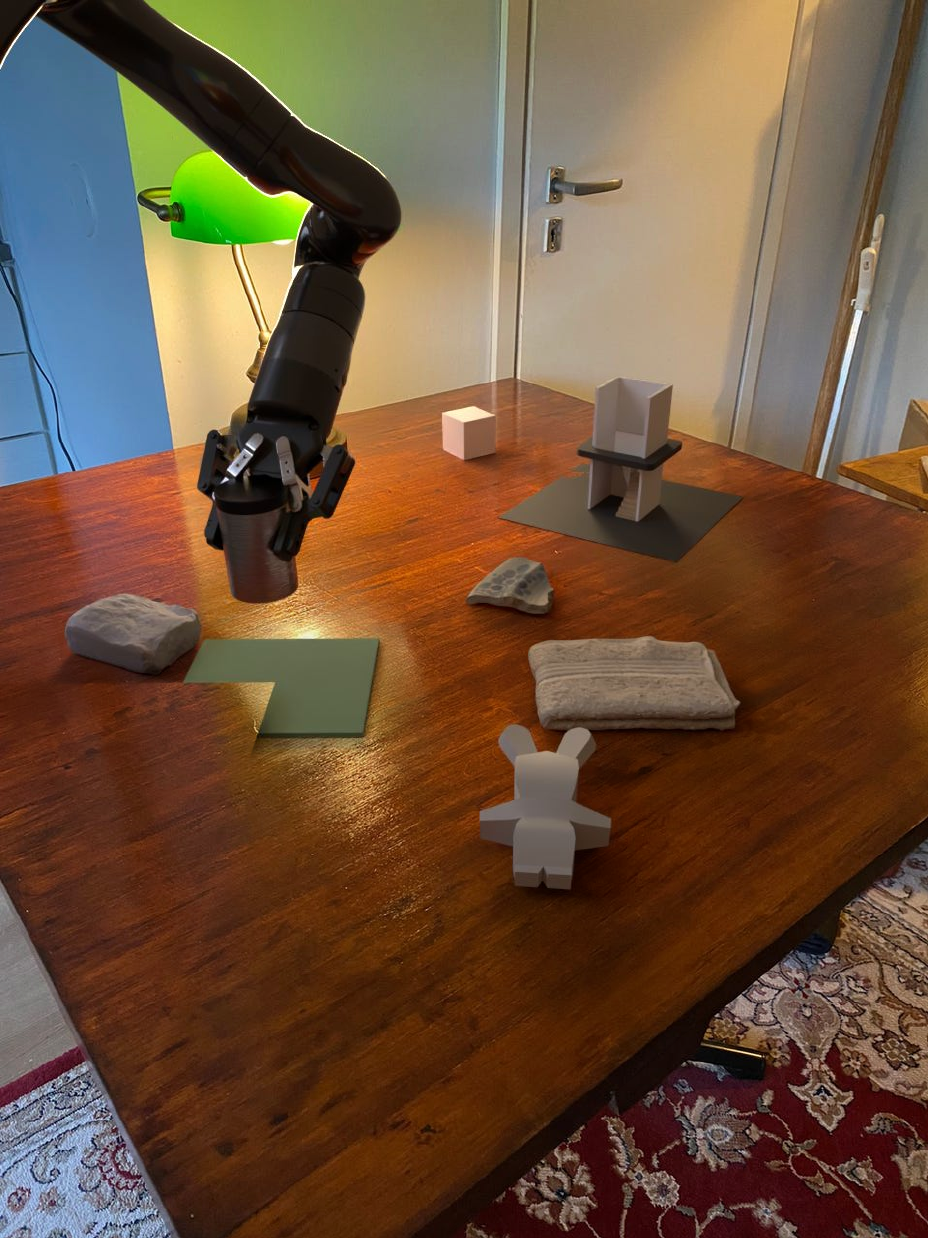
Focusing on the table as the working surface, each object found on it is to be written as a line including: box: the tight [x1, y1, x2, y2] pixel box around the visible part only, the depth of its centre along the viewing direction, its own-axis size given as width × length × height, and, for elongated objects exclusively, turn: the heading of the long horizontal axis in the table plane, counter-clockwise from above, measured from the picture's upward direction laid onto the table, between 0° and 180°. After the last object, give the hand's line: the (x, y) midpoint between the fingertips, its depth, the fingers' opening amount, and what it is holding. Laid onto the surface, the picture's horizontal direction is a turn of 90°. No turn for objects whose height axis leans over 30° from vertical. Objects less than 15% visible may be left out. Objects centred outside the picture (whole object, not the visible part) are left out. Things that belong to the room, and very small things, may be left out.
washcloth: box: [527, 635, 741, 732], centre depth 83 cm, size 12×18×3 cm, turn 91°
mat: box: [182, 637, 381, 739], centre depth 86 cm, size 18×16×1 cm
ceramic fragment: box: [465, 556, 555, 615], centre depth 101 cm, size 11×3×10 cm
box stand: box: [497, 375, 744, 563], centre depth 119 cm, size 25×24×16 cm
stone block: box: [64, 593, 203, 676], centre depth 92 cm, size 12×5×10 cm
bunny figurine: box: [479, 723, 612, 890], centre depth 68 cm, size 10×5×15 cm
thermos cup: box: [214, 475, 300, 605], centre depth 79 cm, size 6×6×10 cm
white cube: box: [441, 405, 497, 461], centre depth 142 cm, size 6×6×6 cm
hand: (248, 552), depth 77 cm, fingers closed on thermos cup, 6 cm apart
